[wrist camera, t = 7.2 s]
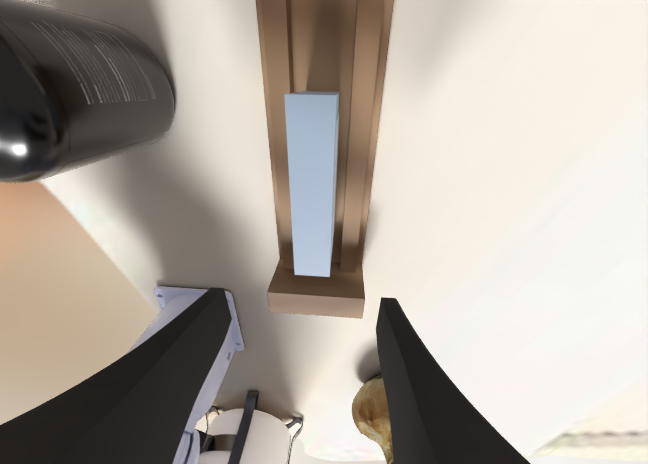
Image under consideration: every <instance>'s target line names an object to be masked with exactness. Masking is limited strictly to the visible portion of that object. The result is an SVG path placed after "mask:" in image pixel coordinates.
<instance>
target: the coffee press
mask: <svg viewBox="0 0 648 464" xmlns="http://www.w3.org/2000/svg"><path fill="white" fill-rule="evenodd" d="M258 394H259V392H254V391H249V392H248V394H247V397H246V402H245V407H244V409H232V410H228V411H225V412H223V413H221V414H219V413H218V411H217V409H216V407H214V406H212V407H210V409H209V410H208V411H207V413H206V419H207V431H206V433H204V432H202V431H199V430H197V431H198V433H199V436H200V453H199V459H198V463H197V464H287V462H288V464H289V461H290V455H291V450H292V445H293V442H294V440H295V439H296V437H297V436H298V435H299V434H300V432H301V431H302V427H303V421H302V420H301V419H300V418H296V419H294V420H293V421H292V422H291V423H289V424H287V425H285V424H284V423H283V422H282V421H281V420H279V419H278V418H276V417H275V416H273V415H270V414H268V413H265V412H262V411H258V410H257V401H258ZM213 411H215V412H216V413H217V415H218V416H216V417H215V418H214V420H213V421H212V423H211V424H210V427H209V422H208V415H209V414H210V413H211V412H213ZM295 423H300V424H301V428H300V429H299V430H298V431H297V432H296V434H295V435H294V437H293V439H292V443H291V448H290V441H291V436H290V432H289V430H288V429H289V428H290V427H292V426H293V425H294V424H295ZM195 430H196V429H195ZM289 449H290V454H289ZM288 455H289V460H288Z"/></svg>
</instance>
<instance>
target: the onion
mask: <svg viewBox="0 0 648 464" xmlns="http://www.w3.org/2000/svg"><path fill="white" fill-rule="evenodd" d="M352 416H353V420H354V423H355V425H356V427H357V428H358V430H359V431H360V433H361V434H364V435H365V436H367V437H368V438H369V439H371V440H373V441H375V442H377V443H378V444H379V445H380V447H381V448H382V450H383V452H384V455H385V458H386V462H387V464H394V457H393V446H392V436H391V426H390V417H389V410H388V404H387V399H386V393H385V388H384V382H383V377H382V375H379V376H376V377H373V378H371V379H369V380H368V381H367V382H366V383H365V384H364V385H363V386H362V387H361V388H360V390H359V392H358V393H357V395H356V396H355V398H354V400H353V403H352Z"/></svg>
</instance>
